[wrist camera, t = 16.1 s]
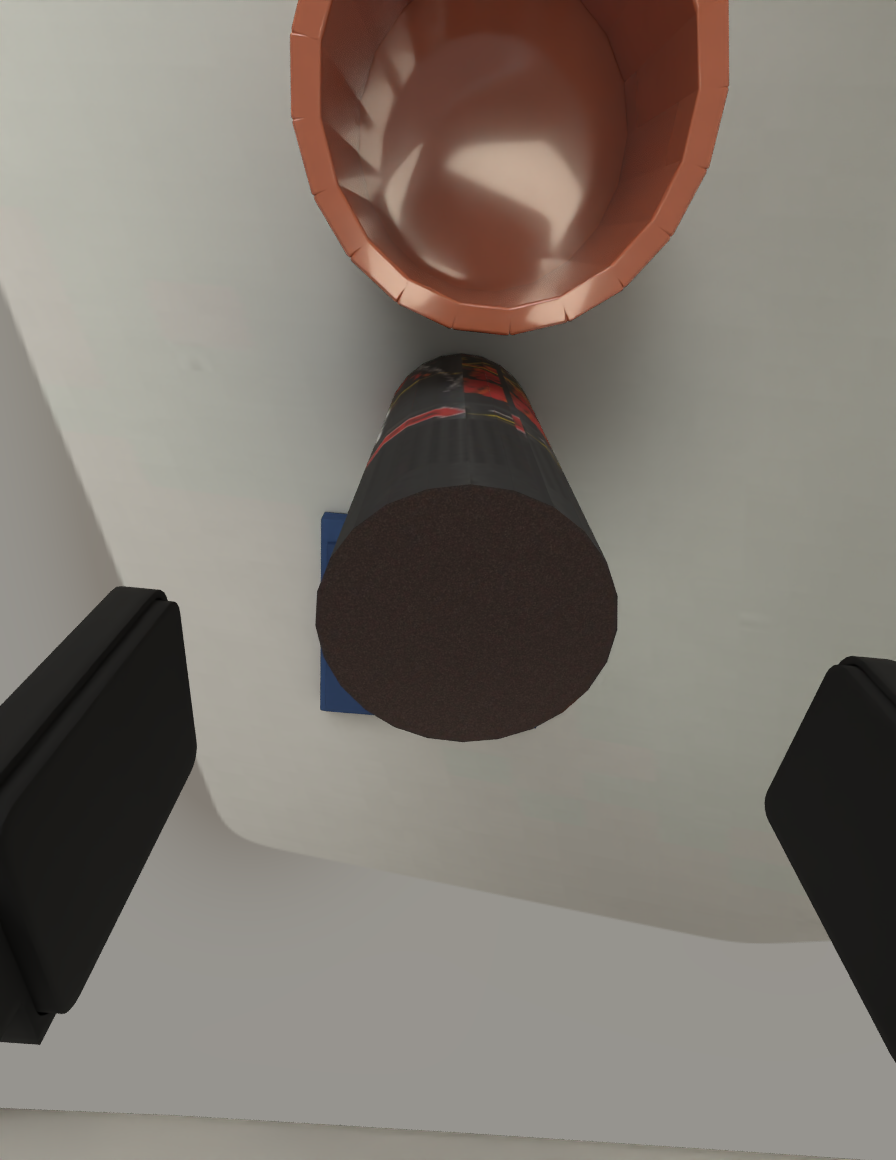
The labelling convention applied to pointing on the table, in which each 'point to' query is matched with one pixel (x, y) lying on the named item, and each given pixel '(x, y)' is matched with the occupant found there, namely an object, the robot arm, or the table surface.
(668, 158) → the pot
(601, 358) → the table surface
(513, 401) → the deodorant
